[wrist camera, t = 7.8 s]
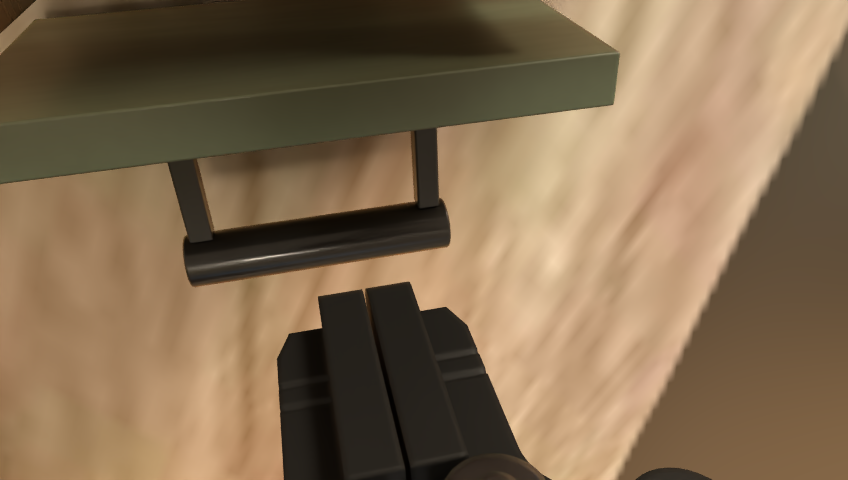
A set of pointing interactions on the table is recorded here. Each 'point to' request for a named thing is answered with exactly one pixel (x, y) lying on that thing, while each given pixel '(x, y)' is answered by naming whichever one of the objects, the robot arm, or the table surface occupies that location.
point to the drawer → (284, 103)
